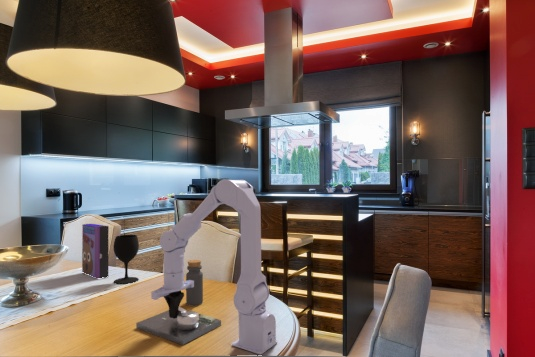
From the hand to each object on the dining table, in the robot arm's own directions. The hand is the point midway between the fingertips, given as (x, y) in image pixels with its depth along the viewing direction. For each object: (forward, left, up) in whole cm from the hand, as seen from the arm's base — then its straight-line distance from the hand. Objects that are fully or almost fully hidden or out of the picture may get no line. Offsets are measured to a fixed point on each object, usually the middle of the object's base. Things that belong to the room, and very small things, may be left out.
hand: (173, 317), depth 99 cm
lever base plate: (-1, -1, -3) cm, 3 cm away
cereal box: (+79, -20, -3) cm, 82 cm away
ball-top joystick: (-2, -1, -1) cm, 3 cm away
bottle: (+10, -18, -3) cm, 21 cm away
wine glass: (+57, -22, -3) cm, 62 cm away
